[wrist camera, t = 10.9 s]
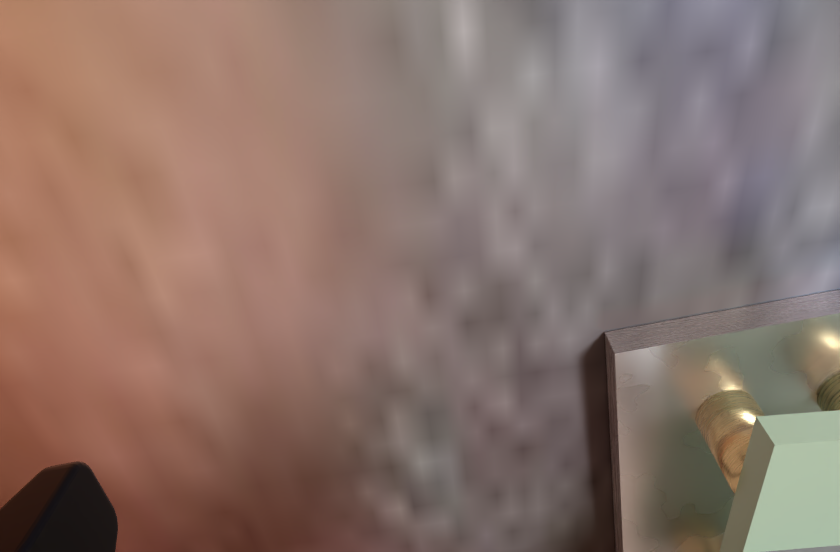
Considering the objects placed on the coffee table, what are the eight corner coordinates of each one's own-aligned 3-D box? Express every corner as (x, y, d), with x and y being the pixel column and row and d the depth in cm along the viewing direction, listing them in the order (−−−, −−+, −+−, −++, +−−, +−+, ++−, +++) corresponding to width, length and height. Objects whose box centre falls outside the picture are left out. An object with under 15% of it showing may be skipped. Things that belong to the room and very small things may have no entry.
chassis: (879, 575, 29) (939, 663, 26) (619, 619, 29) (649, 711, 26) (955, 268, 21) (1050, 343, 19) (604, 332, 22) (644, 415, 19)
